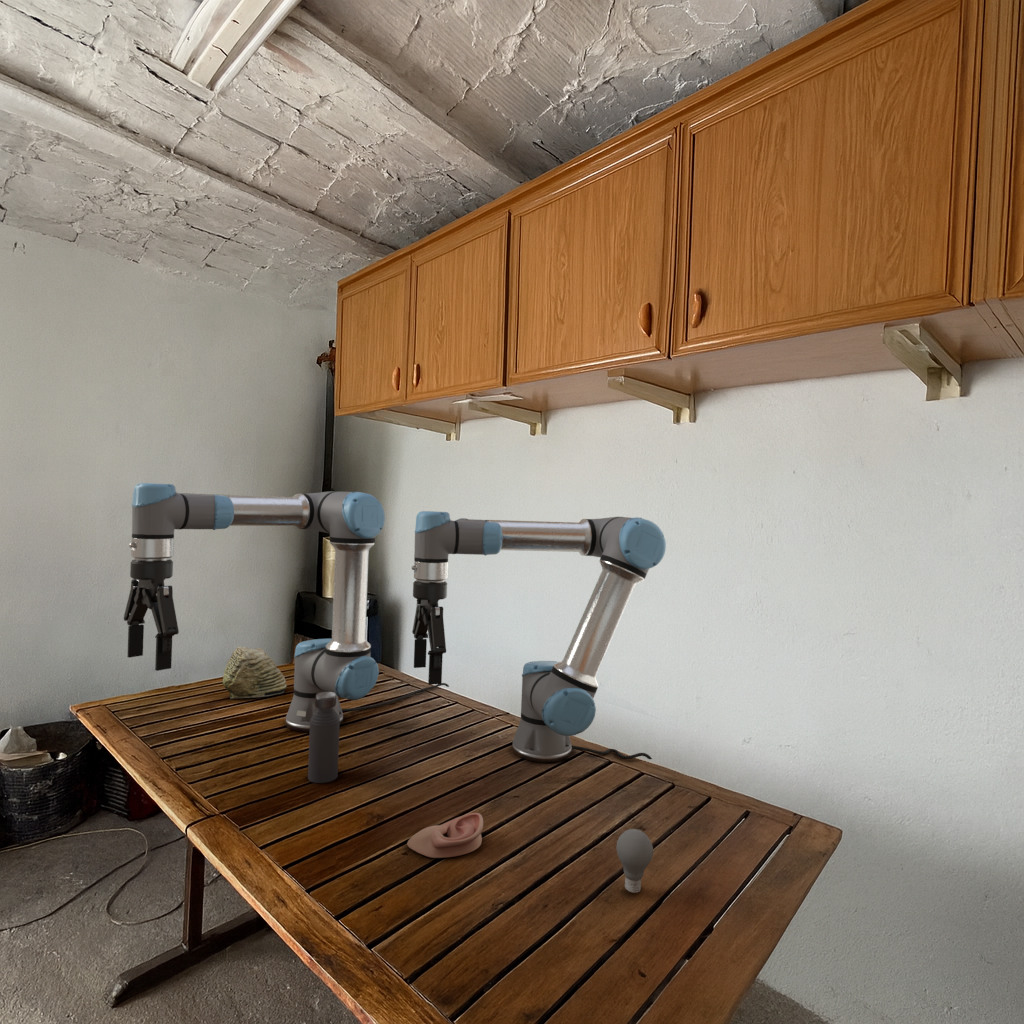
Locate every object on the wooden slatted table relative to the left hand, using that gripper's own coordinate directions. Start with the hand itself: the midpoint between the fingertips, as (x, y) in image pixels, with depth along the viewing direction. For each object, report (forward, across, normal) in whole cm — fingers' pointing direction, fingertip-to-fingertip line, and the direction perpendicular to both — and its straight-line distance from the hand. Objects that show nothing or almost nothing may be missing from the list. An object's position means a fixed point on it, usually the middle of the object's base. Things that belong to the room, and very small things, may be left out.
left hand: (148, 662), depth 129 cm
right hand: (+4, +36, +44) cm, 57 cm away
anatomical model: (+28, +57, +30) cm, 70 cm away
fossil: (+28, -47, +50) cm, 74 cm away
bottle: (+28, +17, +31) cm, 45 cm away
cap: (+10, +17, +31) cm, 37 cm away
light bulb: (+28, +90, +41) cm, 103 cm away
